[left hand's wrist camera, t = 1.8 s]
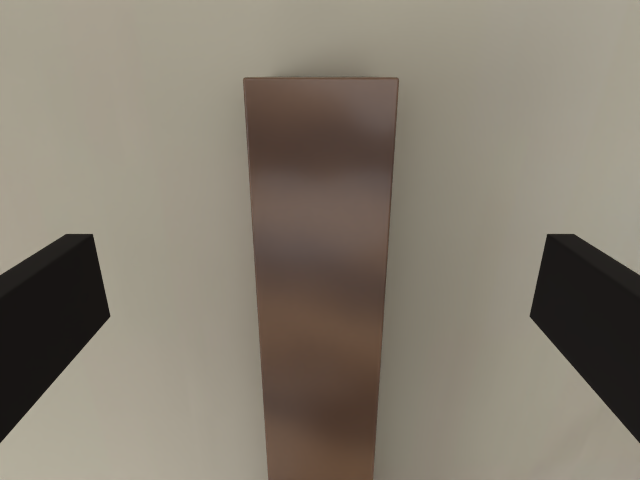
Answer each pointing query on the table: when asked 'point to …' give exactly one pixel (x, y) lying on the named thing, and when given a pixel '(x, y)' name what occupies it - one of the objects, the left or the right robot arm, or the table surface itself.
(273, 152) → the post
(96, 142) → the table surface
